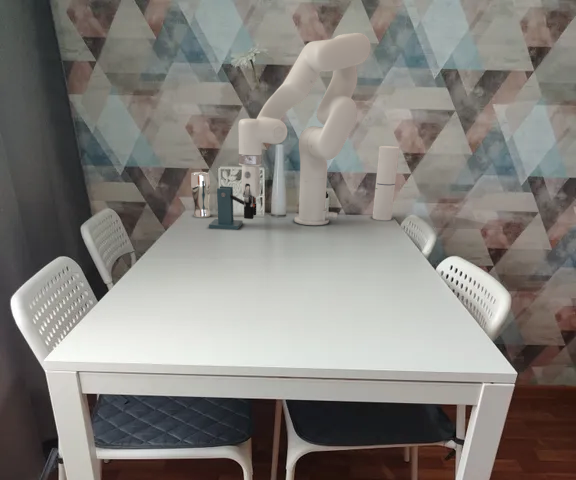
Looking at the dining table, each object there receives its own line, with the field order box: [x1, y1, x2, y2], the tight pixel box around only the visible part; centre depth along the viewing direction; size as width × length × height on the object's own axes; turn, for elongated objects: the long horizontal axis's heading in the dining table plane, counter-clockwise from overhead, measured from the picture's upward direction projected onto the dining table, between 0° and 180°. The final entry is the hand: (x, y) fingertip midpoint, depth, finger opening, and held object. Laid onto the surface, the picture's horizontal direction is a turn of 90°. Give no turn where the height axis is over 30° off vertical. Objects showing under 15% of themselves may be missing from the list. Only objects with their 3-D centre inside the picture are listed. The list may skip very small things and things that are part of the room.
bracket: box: [208, 185, 244, 231], centre depth 188 cm, size 10×9×13 cm
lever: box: [230, 191, 255, 207], centre depth 187 cm, size 12×5×2 cm, turn 84°
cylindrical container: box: [372, 145, 400, 221], centre depth 203 cm, size 7×7×25 cm
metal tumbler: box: [190, 171, 211, 219], centre depth 201 cm, size 7×7×15 cm
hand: (250, 216), depth 189 cm, fingers closed on lever, 5 cm apart
